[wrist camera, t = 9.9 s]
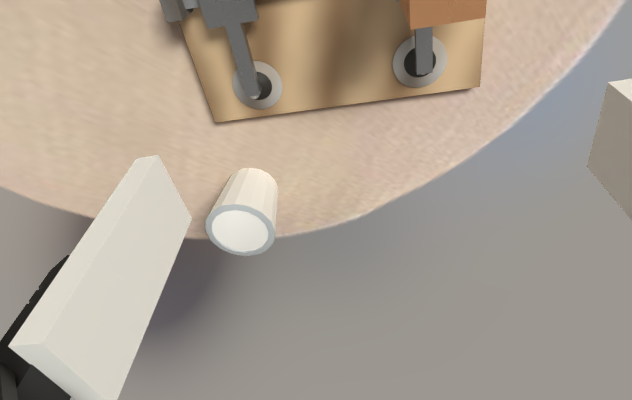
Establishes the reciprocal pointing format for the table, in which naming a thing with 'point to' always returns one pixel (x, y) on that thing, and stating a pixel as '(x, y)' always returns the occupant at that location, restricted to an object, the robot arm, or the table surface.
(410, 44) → the bolt plate
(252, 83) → the fixed leg
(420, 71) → the block
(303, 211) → the table surface
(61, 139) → the table surface
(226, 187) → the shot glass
